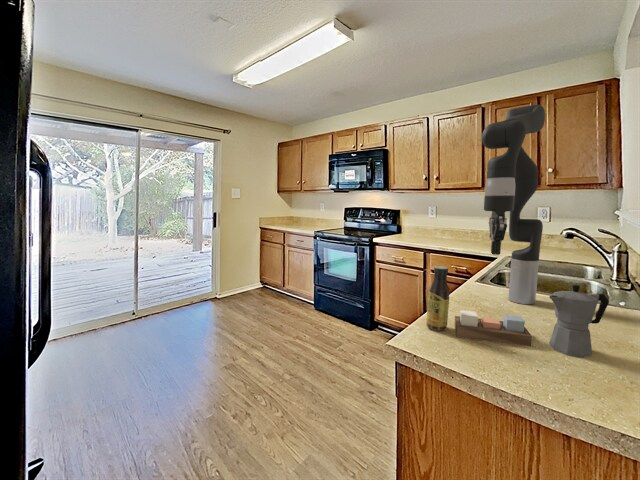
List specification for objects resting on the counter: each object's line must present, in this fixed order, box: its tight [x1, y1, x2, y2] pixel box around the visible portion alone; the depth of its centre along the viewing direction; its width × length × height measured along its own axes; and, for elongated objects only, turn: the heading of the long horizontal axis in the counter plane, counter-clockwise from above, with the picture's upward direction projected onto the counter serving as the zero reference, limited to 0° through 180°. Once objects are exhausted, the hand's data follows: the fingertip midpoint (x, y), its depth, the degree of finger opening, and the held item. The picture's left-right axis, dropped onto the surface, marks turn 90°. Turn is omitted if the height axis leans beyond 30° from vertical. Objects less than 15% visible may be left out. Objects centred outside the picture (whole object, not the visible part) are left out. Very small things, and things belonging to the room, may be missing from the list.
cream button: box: [459, 309, 479, 327], centre depth 97 cm, size 4×4×4 cm
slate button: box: [502, 314, 525, 332], centre depth 93 cm, size 4×4×4 cm
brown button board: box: [453, 315, 533, 348], centre depth 95 cm, size 10×19×3 cm, turn 71°
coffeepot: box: [548, 284, 610, 358], centre depth 85 cm, size 15×9×18 cm, turn 89°
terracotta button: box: [480, 316, 501, 329], centre depth 95 cm, size 4×4×4 cm
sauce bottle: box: [426, 265, 451, 332], centre depth 99 cm, size 6×6×20 cm
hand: (495, 254), depth 92 cm, fingers closed
